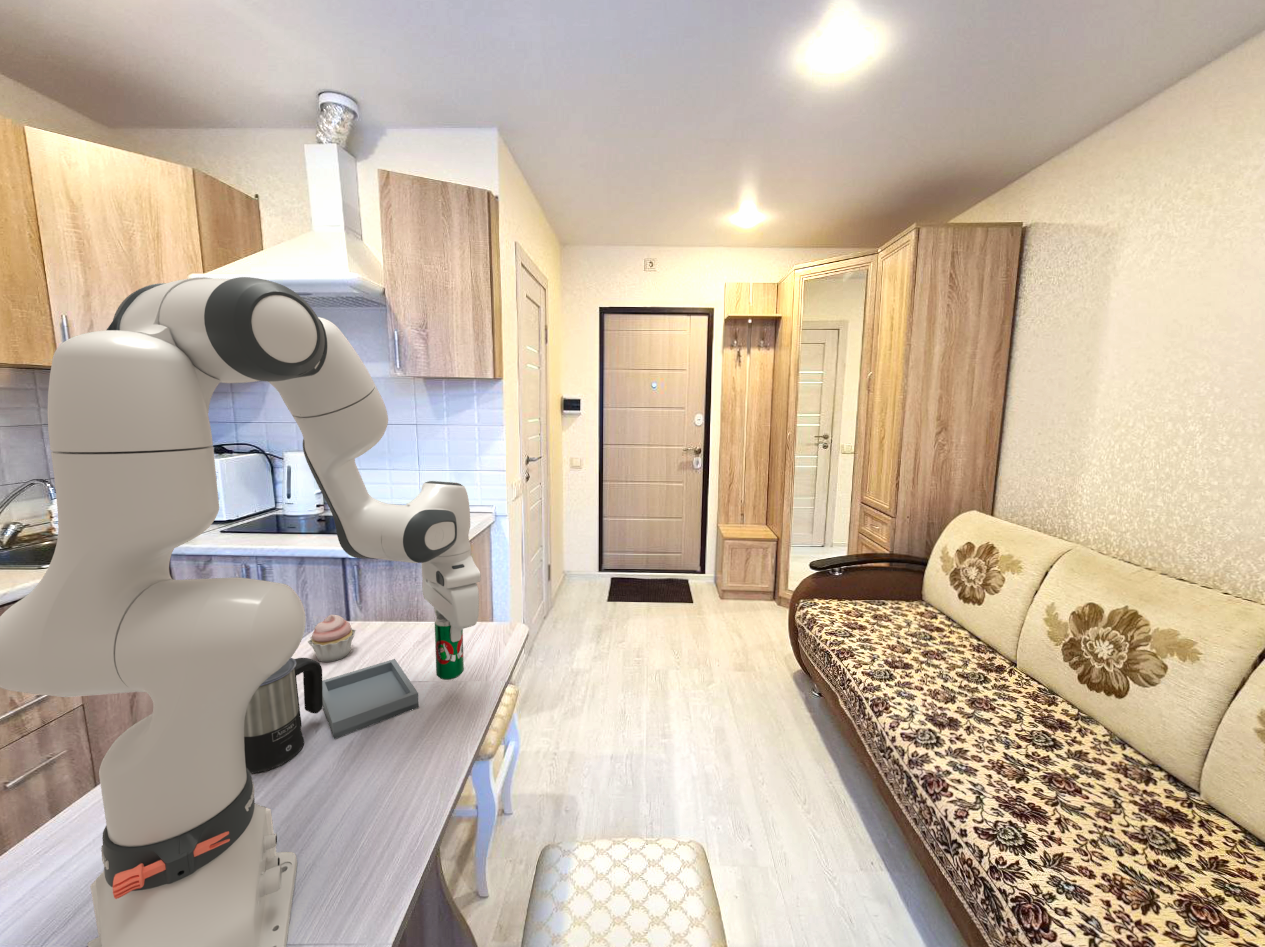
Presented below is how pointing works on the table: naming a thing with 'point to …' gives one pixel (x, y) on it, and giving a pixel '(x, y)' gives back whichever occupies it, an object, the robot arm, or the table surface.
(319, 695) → the milk frother
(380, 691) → the tray
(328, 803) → the table surface
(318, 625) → the cupcake
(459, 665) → the soda can
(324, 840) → the table surface
